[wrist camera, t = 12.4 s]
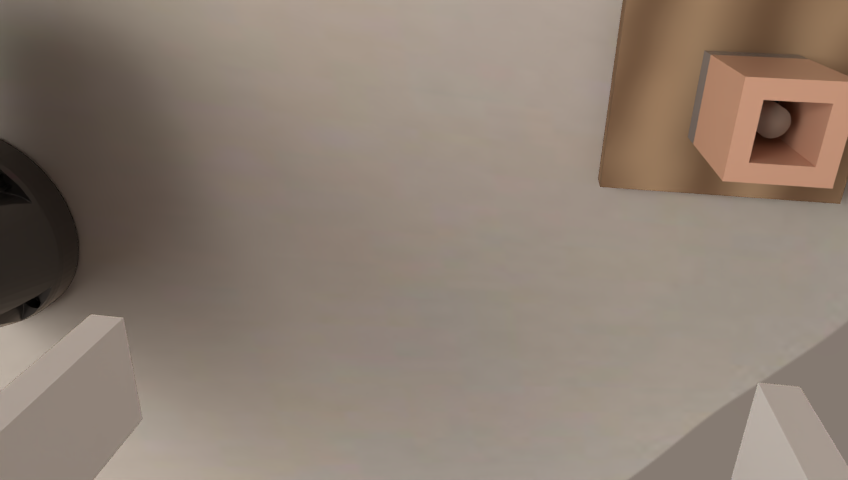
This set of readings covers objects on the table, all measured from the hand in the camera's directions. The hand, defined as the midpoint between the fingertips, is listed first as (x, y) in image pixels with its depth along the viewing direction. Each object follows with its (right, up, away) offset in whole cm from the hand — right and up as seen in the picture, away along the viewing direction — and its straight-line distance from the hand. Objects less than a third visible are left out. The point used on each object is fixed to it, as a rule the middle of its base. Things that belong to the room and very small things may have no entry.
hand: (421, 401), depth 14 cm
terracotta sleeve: (+18, +12, +24) cm, 32 cm away
